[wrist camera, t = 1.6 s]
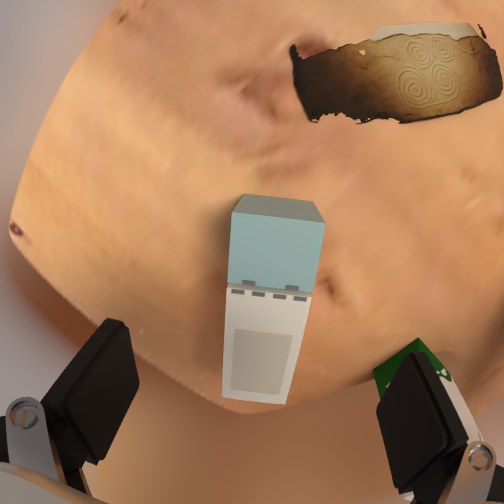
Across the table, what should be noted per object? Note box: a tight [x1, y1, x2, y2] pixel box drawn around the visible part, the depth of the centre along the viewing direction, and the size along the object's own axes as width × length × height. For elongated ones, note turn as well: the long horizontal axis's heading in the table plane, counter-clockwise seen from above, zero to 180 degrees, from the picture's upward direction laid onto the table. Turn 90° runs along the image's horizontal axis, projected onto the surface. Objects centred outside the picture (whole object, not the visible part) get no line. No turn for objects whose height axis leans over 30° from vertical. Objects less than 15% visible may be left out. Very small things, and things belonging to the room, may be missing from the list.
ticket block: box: [222, 283, 312, 404], centre depth 26 cm, size 6×12×7 cm, turn 175°
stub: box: [227, 194, 326, 292], centre depth 22 cm, size 6×5×7 cm
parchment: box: [290, 23, 503, 124], centre depth 19 cm, size 25×10×1 cm, turn 111°
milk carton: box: [373, 338, 483, 501], centre depth 21 cm, size 9×9×20 cm
